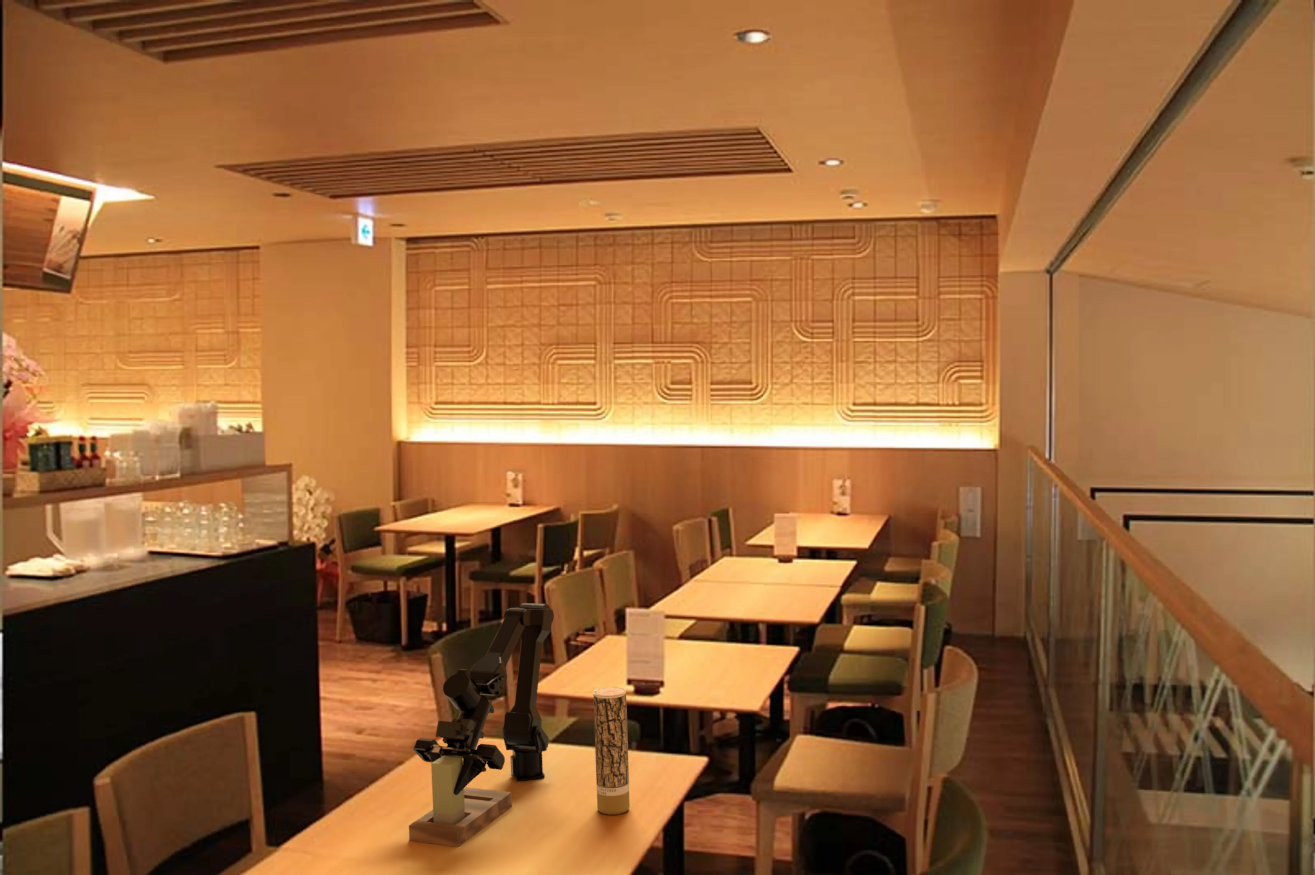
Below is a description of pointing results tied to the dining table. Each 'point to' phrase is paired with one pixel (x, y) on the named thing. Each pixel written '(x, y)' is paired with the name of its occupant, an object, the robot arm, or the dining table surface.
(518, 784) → the dining table surface
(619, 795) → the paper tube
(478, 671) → the robot arm
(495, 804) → the socket board
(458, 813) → the square bit
